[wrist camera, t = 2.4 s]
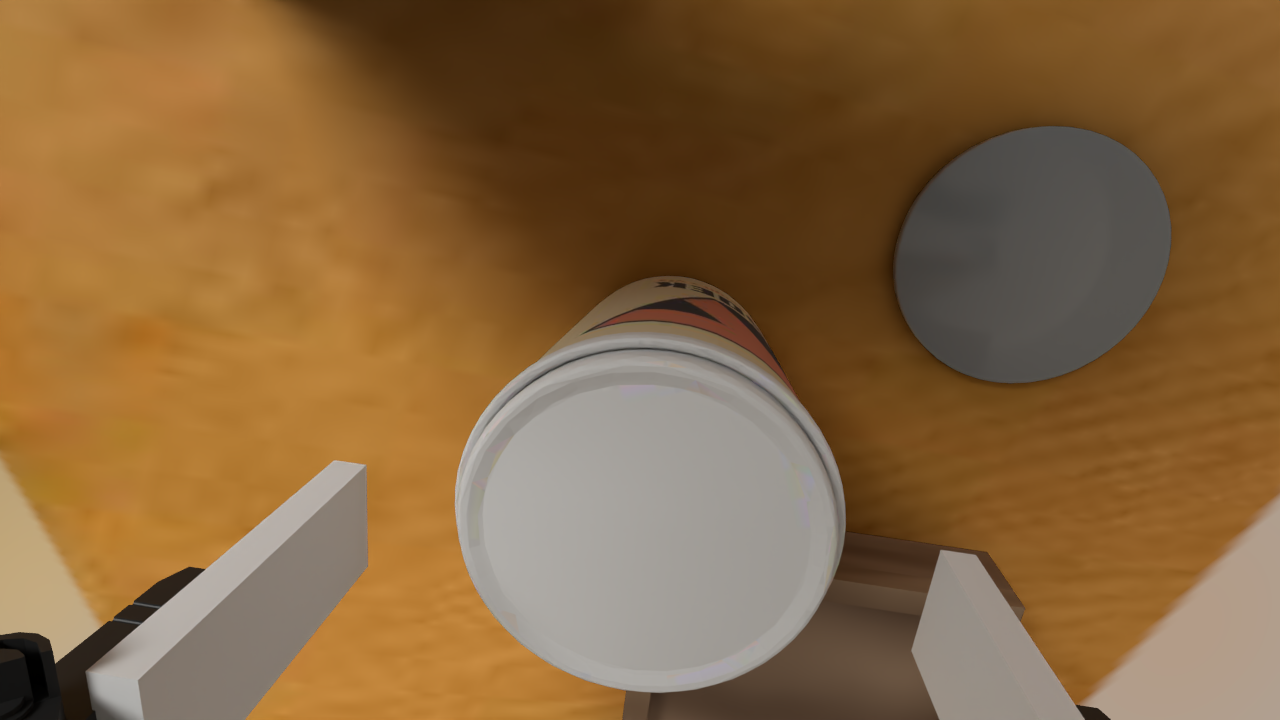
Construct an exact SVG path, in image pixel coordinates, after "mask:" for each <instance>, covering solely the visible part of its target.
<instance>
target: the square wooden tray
mask: <svg viewBox="0 0 1280 720" xmlns="http://www.w3.org/2000/svg"><path fill="white" fill-rule="evenodd" d="M940 550H946V551H953V552H959V553H966V554H973V555H976V556H977V557H978V559H979V560H980V562H981V563H982V565H983V566H984V568H985V569H986V571H987V572H988V574H989V575H990V577H991V579H992V580H993V582H994V583H995V585H996V586H997V588H998V589H999V591H1000V592H1001V594H1002V595H1003V597H1004V598H1005V600H1006V601H1007V603H1008V604H1009V606H1010V607H1011V609H1012V610H1013V612H1014V613H1015V615H1016V616H1017V618H1018V619H1019V621H1021V618H1022V616H1023V613H1024V610H1025V607H1024V606H1023V604H1022V603H1021V601H1020V600H1019V598H1018V597H1017V595H1016V594H1015V592H1014V591H1013V589H1012V588H1011V587H1010V585H1009V584H1008V582H1007V581H1006V579H1005V578H1004V576H1003V575H1002V573H1001V572H1000V570H999V569H998V567H997V566H996V564H995V563H994V561H993V560H992V558H991V557H990V555H989V554H988V553H987V552H981V551H974V550H968V549H961V548H954V547H947V546H941V545H934V544H927V543H920V542H913V541H907V540H900V539H893V538H886V537H879V536H873V535H866V534H859V533H852V532H845V537H844V545H843V550H842V554H841V558H840V562H839V565H838V568H837V570H836V573H835V576H834V578H833V581H832V583H831V585H830V586H829V588H828V590H827V592H826V594H825V596H824V598H823V600H822V602H821V603H820V605H819V607H818V609H817V610H816V612H815V613H814V615H813V616H812V618H811V619H810V621H809V623H808V624H807V625H806V626H805V628H804V629H803V630H802V631H801V632H800V633H799V634H798V635H797V636H796V638H795V639H794V640H793V641H792V642H790V643H789V644H788V645H787V646H786V647H785V648H784V649H783V650H781V651H780V652H779V653H778V654H776V655H775V656H773V657H772V658H771V659H769V660H768V661H767V662H765V663H764V664H762V665H760V666H758V667H756V668H754V669H753V670H751V671H749V672H747V673H745V674H743V675H740V676H738V677H736V678H734V679H732V680H729V681H725V682H722V683H719V684H715V685H711V686H708V687H704V688H700V689H696V690H687V691H678V692H665V693H653V692H639V691H628V690H626V697H625V704H624V712H623V719H622V720H939V718H938V715H937V713H936V710H935V708H934V705H933V703H932V700H931V698H930V695H929V693H928V691H927V688H926V686H925V683H924V681H923V678H922V676H921V673H920V671H919V669H918V666H917V664H916V661H915V659H914V656H913V654H912V651H911V650H912V647H913V643H914V640H915V636H916V633H917V629H918V626H919V623H920V619H921V616H922V612H923V609H924V605H925V602H926V599H927V595H928V592H929V588H930V585H931V581H932V578H933V575H934V571H935V568H936V564H937V561H938V557H939V554H940Z"/></svg>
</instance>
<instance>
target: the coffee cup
mask: <svg viewBox="0 0 1280 720" xmlns="http://www.w3.org/2000/svg"><path fill="white" fill-rule="evenodd" d="M455 511H456V522H457V528H458V534H459V541H460V545H461V550H462V554H463V558H464V561H465V564H466V567H467V570H468V573H469V575H470V577H471V579H472V582H473V584H474V586H475V588H476V590H477V592H478V593H479V595H480V597H481V598H482V600H483V602H484V603H485V604H486V606H487V607H488V609H489V610H490V611H491V613H492V614H493V616H494V617H495V618H496V619H497V620H498V622H499V623H500V624H501V625H502V626H503V627H504V628H505V629H506V630H507V631H508V632H509V633H510V634H511V635H512V636H513V637H514V638H515V639H516V640H517V641H519V642H520V643H521V644H522V645H523V646H525V647H526V648H527V649H529V650H530V651H531V652H533V653H534V654H536V655H537V656H539V657H540V658H542V659H543V660H545V661H546V662H548V663H549V664H551V665H553V666H555V667H557V668H559V669H561V670H563V671H565V672H568V673H570V674H572V675H574V676H577V677H579V678H581V679H584V680H586V681H589V682H593V683H597V684H600V685H604V686H608V687H612V688H616V689H621V690H628V691H639V692H653V693H665V692H678V691H687V690H696V689H700V688H704V687H708V686H711V685H715V684H719V683H722V682H725V681H729V680H732V679H734V678H736V677H738V676H740V675H743V674H745V673H747V672H749V671H751V670H753V669H754V668H756V667H758V666H760V665H762V664H764V663H765V662H767V661H768V660H769V659H771V658H772V657H773V656H775V655H776V654H778V653H779V652H780V651H781V650H783V649H784V648H785V647H786V646H787V645H788V644H789V643H790V642H792V641H793V640H794V639H795V638H796V636H797V635H798V634H799V633H800V632H801V631H802V630H803V629H804V628H805V626H806V625H807V624H808V623H809V621H810V619H811V618H812V616H813V615H814V613H815V612H816V610H817V609H818V607H819V605H820V603H821V602H822V600H823V598H824V596H825V594H826V592H827V590H828V588H829V586H830V585H831V583H832V581H833V578H834V576H835V573H836V570H837V568H838V565H839V562H840V558H841V554H842V550H843V545H844V537H845V529H846V512H845V500H844V493H843V485H842V481H841V478H840V474H839V470H838V466H837V464H836V461H835V459H834V456H833V454H832V451H831V449H830V447H829V445H828V443H827V441H826V439H825V437H824V436H823V434H822V432H821V430H820V428H819V427H818V426H817V424H816V423H815V421H814V420H813V418H812V417H811V416H810V414H809V413H808V411H807V410H806V409H805V407H804V406H803V405H802V404H801V403H800V401H799V399H798V397H797V395H796V393H795V392H794V390H793V388H792V386H791V384H790V382H789V381H788V379H787V377H786V375H785V373H784V371H783V370H782V368H781V366H780V364H779V362H778V361H777V359H776V357H775V355H774V354H773V352H772V350H771V348H770V347H769V345H768V343H767V341H766V340H765V338H764V336H763V334H762V333H761V331H760V329H759V328H758V327H757V325H756V324H755V322H754V321H753V319H752V318H751V317H750V315H749V314H748V313H747V312H746V311H745V310H744V308H743V307H742V306H741V305H740V304H739V303H738V302H736V301H735V300H734V299H733V298H731V297H730V296H729V295H727V294H726V293H725V292H723V291H721V290H719V289H718V288H716V287H714V286H712V285H709V284H707V283H705V282H702V281H699V280H695V279H692V278H686V277H680V276H660V277H652V278H646V279H642V280H639V281H636V282H633V283H631V284H628V285H626V286H624V287H622V288H620V289H619V290H617V291H615V292H614V293H612V294H611V295H610V296H608V297H607V298H605V299H604V300H603V301H601V302H600V303H599V304H598V305H597V306H596V307H594V308H593V309H592V310H591V311H590V312H589V313H588V314H587V315H586V316H585V317H584V318H583V319H582V320H580V321H579V322H578V323H577V324H576V325H575V326H574V327H573V328H572V329H571V330H570V331H569V332H568V333H567V334H565V335H564V336H563V337H562V338H561V339H560V340H559V341H558V342H557V343H556V344H555V345H554V346H553V347H552V348H550V349H549V350H548V351H547V352H546V353H545V354H544V355H543V356H542V357H541V358H540V359H539V360H538V361H537V362H535V363H534V364H532V365H531V366H529V367H528V368H527V369H525V370H524V371H523V372H522V373H520V374H519V375H518V376H517V377H515V378H514V379H513V380H512V381H510V382H509V383H508V384H507V385H506V386H505V387H504V388H503V389H502V390H501V391H500V392H499V393H498V394H497V395H496V396H495V397H494V399H493V400H492V401H491V403H490V404H489V405H488V407H487V408H486V409H485V411H484V412H483V413H482V415H481V416H480V418H479V420H478V422H477V423H476V425H475V427H474V429H473V430H472V432H471V434H470V437H469V439H468V442H467V444H466V446H465V449H464V451H463V454H462V458H461V461H460V465H459V469H458V474H457V481H456V488H455Z"/></svg>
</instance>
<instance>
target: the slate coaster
mask: <svg viewBox="0 0 1280 720" xmlns="http://www.w3.org/2000/svg"><path fill="white" fill-rule="evenodd" d="M1170 248H1171V222H1170V215H1169V209H1168V206H1167V203H1166V199H1165V196H1164V194H1163V191H1162V189H1161V187H1160V185H1159V183H1158V181H1157V179H1156V178H1155V176H1154V175H1153V174H1152V172H1151V171H1150V169H1149V168H1148V167H1147V165H1146V164H1145V163H1144V162H1143V161H1142V160H1141V159H1140V158H1139V157H1138V156H1137V155H1136V154H1135V153H1133V152H1132V151H1130V150H1129V149H1128V148H1126V147H1125V146H1124V145H1122V144H1121V143H1119V142H1117V141H1115V140H1113V139H1111V138H1109V137H1107V136H1105V135H1102V134H1099V133H1096V132H1093V131H1090V130H1085V129H1079V128H1074V127H1060V126H1044V127H1032V128H1024V129H1019V130H1014V131H1010V132H1006V133H1003V134H1000V135H997V136H994V137H991V138H989V139H987V140H985V141H982V142H980V143H978V144H976V145H974V146H972V147H971V148H969V149H967V150H966V151H964V152H963V153H961V154H960V155H958V156H956V157H955V158H954V159H953V160H951V161H950V162H949V163H948V164H947V165H945V166H944V167H943V168H942V169H941V170H940V171H939V172H938V173H937V174H936V175H935V176H934V177H933V178H932V179H931V180H930V181H929V182H928V183H927V184H926V186H925V187H924V188H923V190H922V191H921V192H920V193H919V195H918V196H917V198H916V199H915V201H914V203H913V204H912V206H911V208H910V209H909V211H908V213H907V215H906V218H905V220H904V222H903V224H902V227H901V229H900V233H899V236H898V239H897V243H896V248H895V254H894V261H893V280H894V289H895V294H896V298H897V302H898V306H899V308H900V311H901V313H902V315H903V318H904V320H905V322H906V323H907V325H908V327H909V328H910V330H911V332H912V333H913V334H914V336H915V337H916V338H917V339H918V340H919V342H920V343H921V344H922V345H923V346H924V347H925V348H926V349H927V350H928V351H930V352H931V353H932V354H933V355H934V356H935V357H936V358H937V359H939V360H940V361H942V362H943V363H945V364H946V365H948V366H949V367H951V368H953V369H955V370H957V371H959V372H961V373H963V374H966V375H969V376H972V377H975V378H978V379H982V380H987V381H992V382H1001V383H1028V382H1034V381H1041V380H1046V379H1050V378H1053V377H1057V376H1061V375H1063V374H1066V373H1068V372H1071V371H1074V370H1076V369H1079V368H1080V367H1082V366H1084V365H1086V364H1088V363H1090V362H1092V361H1094V360H1095V359H1097V358H1098V357H1100V356H1101V355H1103V354H1104V353H1106V352H1107V351H1109V350H1110V349H1111V348H1112V347H1114V346H1115V345H1116V344H1117V343H1118V342H1120V341H1121V340H1122V339H1123V338H1124V337H1125V336H1126V335H1127V334H1128V333H1129V332H1130V331H1131V330H1132V329H1133V328H1134V327H1135V326H1136V324H1137V323H1138V322H1139V321H1140V319H1141V318H1142V317H1143V315H1144V314H1145V313H1146V311H1147V310H1148V308H1149V306H1150V305H1151V303H1152V301H1153V300H1154V298H1155V296H1156V294H1157V292H1158V290H1159V288H1160V285H1161V283H1162V281H1163V278H1164V275H1165V272H1166V268H1167V265H1168V261H1169V255H1170Z"/></svg>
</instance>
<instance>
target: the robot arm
mask: <svg viewBox="0 0 1280 720" xmlns="http://www.w3.org/2000/svg"><path fill="white" fill-rule="evenodd" d="M367 567H368V541H367V475H366V465H363V464H356V463H349V462H343V461H336V460H334V461H333V462H332V463H331V464H329V465H328V466H327V467H326V468H325V469H324V470H322V471H321V472H320V473H319V474H318V475H316V476H315V477H314V478H313V479H312V480H311V481H309V482H308V483H307V484H306V485H305V486H303V487H302V488H301V489H300V490H299V491H298V492H296V493H295V494H294V495H293V496H292V497H291V498H289V499H288V500H287V501H286V502H285V503H283V504H282V505H281V506H280V507H279V508H278V509H276V510H275V511H274V512H273V513H272V514H270V515H269V516H268V517H267V518H266V519H265V520H263V521H262V522H261V523H260V524H259V525H257V526H256V527H255V528H254V529H253V530H252V531H250V532H249V533H248V534H247V535H246V536H245V537H243V538H242V539H241V540H240V541H239V542H237V543H236V544H235V545H234V546H233V547H232V548H230V549H229V550H228V551H227V552H226V553H224V554H223V555H222V556H221V557H220V558H219V559H217V560H216V561H215V562H214V563H213V564H211V565H210V566H209V567H208V568H207V569H201V568H194V567H188V568H186V569H184V570H182V571H180V572H177V573H175V574H173V575H171V576H169V577H167V578H165V579H163V580H161V581H159V582H157V583H156V584H155V585H153V586H152V587H151V588H150V589H148V590H147V591H146V592H145V593H143V594H142V595H141V596H140V597H138V598H137V599H136V600H135V601H134V603H133V605H128V606H127V607H126V608H125V609H123V610H122V611H121V612H120V613H118V614H117V615H116V616H115V617H114V619H113V621H108V622H107V623H106V624H105V625H103V626H102V627H101V628H100V629H98V630H97V631H96V632H95V633H93V634H92V635H91V636H90V637H88V638H87V639H86V640H84V641H83V642H82V643H81V644H79V645H78V646H77V647H76V648H74V649H73V650H72V651H71V652H69V653H68V654H67V655H66V656H64V657H63V658H62V659H61V660H59V661H58V662H57V663H56V664H55V661H54V656H53V651H52V648H51V644H50V640H49V639H47V638H45V637H43V636H41V635H39V634H36V633H21V632H18V633H12V634H5V635H0V720H245V719H246V717H247V716H248V715H249V714H250V712H251V711H252V710H253V709H254V707H255V706H256V705H257V704H258V702H259V701H260V700H261V699H262V697H263V696H264V695H265V694H266V693H267V691H268V690H269V689H270V688H271V686H272V685H273V684H274V683H275V681H276V680H277V679H278V678H279V676H280V675H281V674H282V673H283V671H284V670H285V669H286V668H287V666H288V665H289V664H290V663H291V661H292V660H293V659H294V658H295V656H296V655H297V654H298V653H299V651H300V650H301V649H302V648H303V646H304V645H305V644H306V643H307V641H308V640H309V639H310V638H311V636H312V635H313V634H314V633H315V631H316V630H317V629H318V628H319V626H320V625H321V624H322V623H323V621H324V620H325V619H326V618H327V617H328V615H329V614H330V613H331V612H332V610H333V609H334V608H335V607H336V605H337V604H338V603H339V602H340V600H341V599H342V598H343V597H344V595H345V594H346V593H347V592H348V590H349V589H350V588H351V587H352V585H353V584H354V583H355V582H356V580H357V579H358V578H359V577H360V575H361V574H362V573H363V572H364V570H365V569H366V568H367ZM911 651H912V654H913V656H914V659H915V661H916V664H917V666H918V669H919V671H920V673H921V676H922V678H923V681H924V683H925V686H926V688H927V691H928V693H929V695H930V698H931V700H932V703H933V705H934V708H935V710H936V713H937V715H938V718H939V720H1110V719H1109V718H1108V717H1107V716H1106V715H1105V714H1104V713H1102V711H1100V710H1099V709H1098V708H1093V707H1086V706H1080V705H1075V704H1074V702H1073V701H1072V699H1071V698H1070V696H1069V695H1068V693H1067V692H1066V690H1065V689H1064V687H1063V686H1062V684H1061V683H1060V681H1059V680H1058V678H1057V677H1056V675H1055V674H1054V672H1053V671H1052V669H1051V668H1050V666H1049V665H1048V663H1047V662H1046V660H1045V659H1044V657H1043V656H1042V654H1041V653H1040V651H1039V650H1038V648H1037V647H1036V645H1035V644H1034V642H1033V640H1032V639H1031V637H1030V636H1029V634H1028V633H1027V631H1026V630H1025V628H1024V627H1023V625H1022V624H1021V622H1020V621H1019V619H1018V618H1017V616H1016V615H1015V613H1014V612H1013V610H1012V609H1011V607H1010V606H1009V604H1008V603H1007V601H1006V600H1005V598H1004V597H1003V595H1002V594H1001V592H1000V591H999V589H998V588H997V586H996V585H995V583H994V582H993V580H992V579H991V577H990V575H989V574H988V572H987V571H986V569H985V568H984V566H983V565H982V563H981V562H980V560H979V559H978V557H977V556H976V555H973V554H966V553H959V552H953V551H946V550H940V554H939V557H938V561H937V564H936V568H935V571H934V575H933V578H932V581H931V585H930V588H929V592H928V595H927V599H926V602H925V605H924V609H923V612H922V616H921V619H920V623H919V626H918V629H917V633H916V636H915V640H914V643H913V647H912V650H911Z"/></svg>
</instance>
